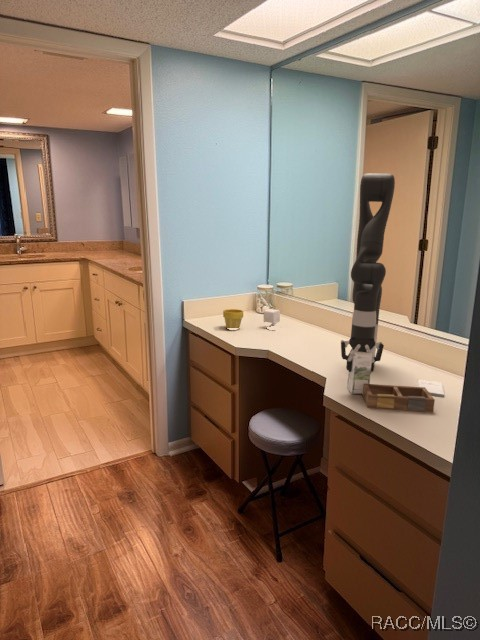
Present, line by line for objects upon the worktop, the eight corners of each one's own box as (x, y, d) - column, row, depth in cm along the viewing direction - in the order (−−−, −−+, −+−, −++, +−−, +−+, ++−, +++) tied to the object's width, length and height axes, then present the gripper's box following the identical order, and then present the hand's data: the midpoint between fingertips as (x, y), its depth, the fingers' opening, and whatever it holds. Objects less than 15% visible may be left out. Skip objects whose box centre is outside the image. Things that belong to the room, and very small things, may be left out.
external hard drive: (417, 395, 153) (417, 383, 165) (444, 399, 150) (442, 386, 162) (418, 390, 153) (418, 378, 164) (444, 394, 150) (442, 382, 161)
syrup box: (363, 388, 156) (367, 348, 153) (368, 395, 151) (372, 353, 147) (347, 388, 156) (350, 347, 153) (351, 394, 150) (355, 353, 147)
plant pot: (236, 326, 242) (236, 308, 239) (246, 330, 233) (247, 311, 231) (219, 328, 236) (219, 309, 234) (229, 332, 228) (229, 313, 225)
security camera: (269, 326, 242) (270, 308, 240) (280, 328, 238) (281, 310, 236) (263, 328, 237) (263, 310, 235) (274, 331, 233) (275, 312, 231)
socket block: (362, 394, 150) (363, 382, 150) (423, 398, 148) (425, 386, 147) (367, 407, 140) (369, 394, 139) (433, 412, 138) (435, 399, 137)
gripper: (384, 321, 151) (379, 369, 155) (340, 319, 152) (336, 367, 156) (388, 327, 144) (383, 377, 147) (342, 324, 145) (338, 374, 149)
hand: (359, 371), depth 152 cm, fingers closed on syrup box, 6 cm apart
